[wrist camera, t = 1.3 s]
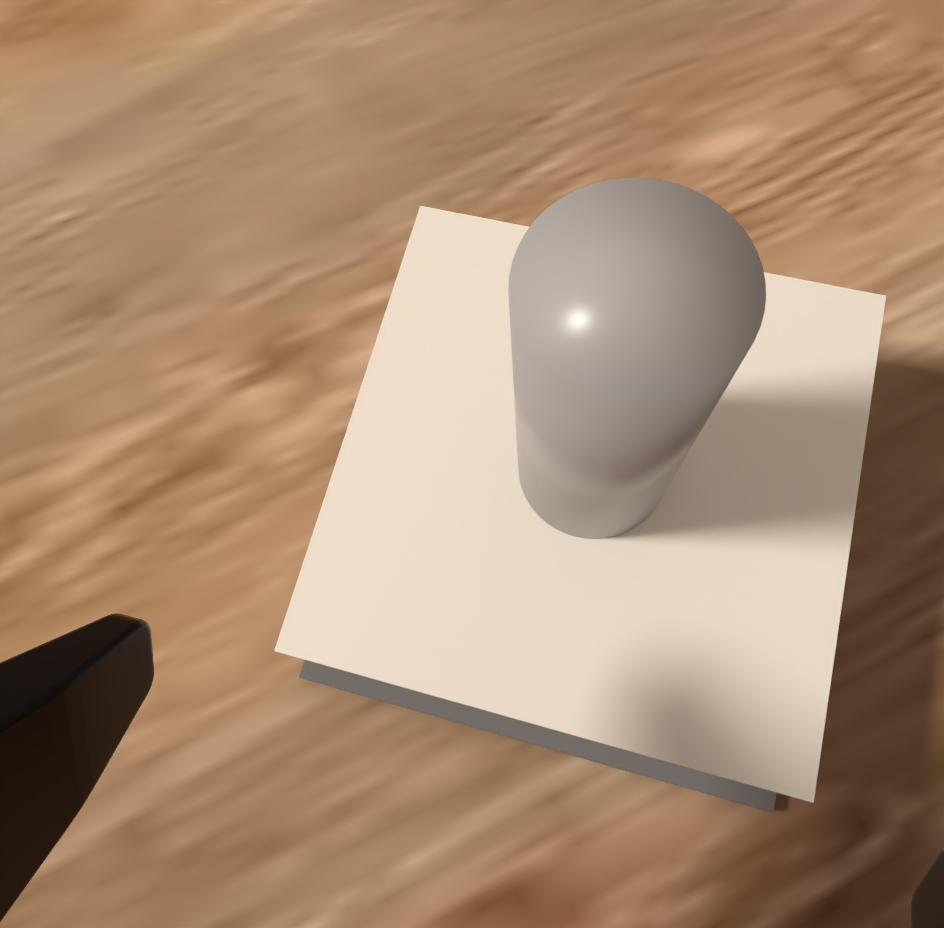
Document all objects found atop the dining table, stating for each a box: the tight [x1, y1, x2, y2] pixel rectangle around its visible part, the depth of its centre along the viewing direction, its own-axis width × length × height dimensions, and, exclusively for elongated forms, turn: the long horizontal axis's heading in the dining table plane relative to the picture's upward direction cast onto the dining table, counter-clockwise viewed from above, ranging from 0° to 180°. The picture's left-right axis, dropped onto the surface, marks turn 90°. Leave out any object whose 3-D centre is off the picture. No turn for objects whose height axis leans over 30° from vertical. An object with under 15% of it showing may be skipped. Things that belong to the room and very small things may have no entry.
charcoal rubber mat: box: [299, 660, 777, 813], centre depth 22 cm, size 12×12×1 cm
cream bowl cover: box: [274, 178, 886, 803], centre depth 16 cm, size 11×11×12 cm
